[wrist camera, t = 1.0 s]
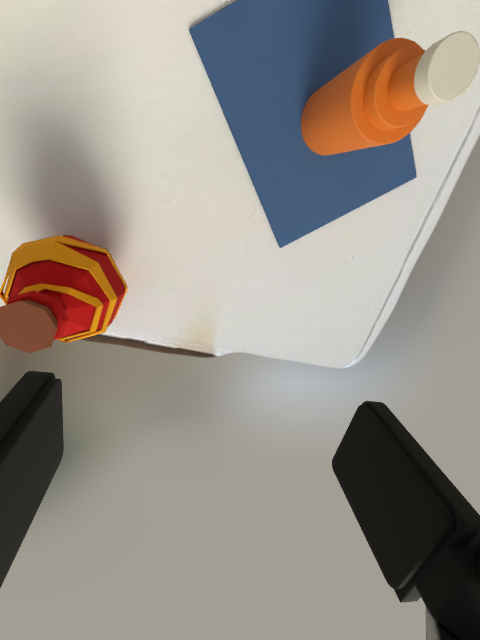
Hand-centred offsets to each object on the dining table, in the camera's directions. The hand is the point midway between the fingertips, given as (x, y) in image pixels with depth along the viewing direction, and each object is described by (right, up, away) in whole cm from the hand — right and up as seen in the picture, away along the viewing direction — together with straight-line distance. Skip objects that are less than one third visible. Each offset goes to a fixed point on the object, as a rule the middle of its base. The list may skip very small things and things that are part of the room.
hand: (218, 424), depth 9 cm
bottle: (+10, +24, +21) cm, 34 cm away
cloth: (+9, +25, +21) cm, 34 cm away
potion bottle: (-17, +9, +25) cm, 32 cm away
